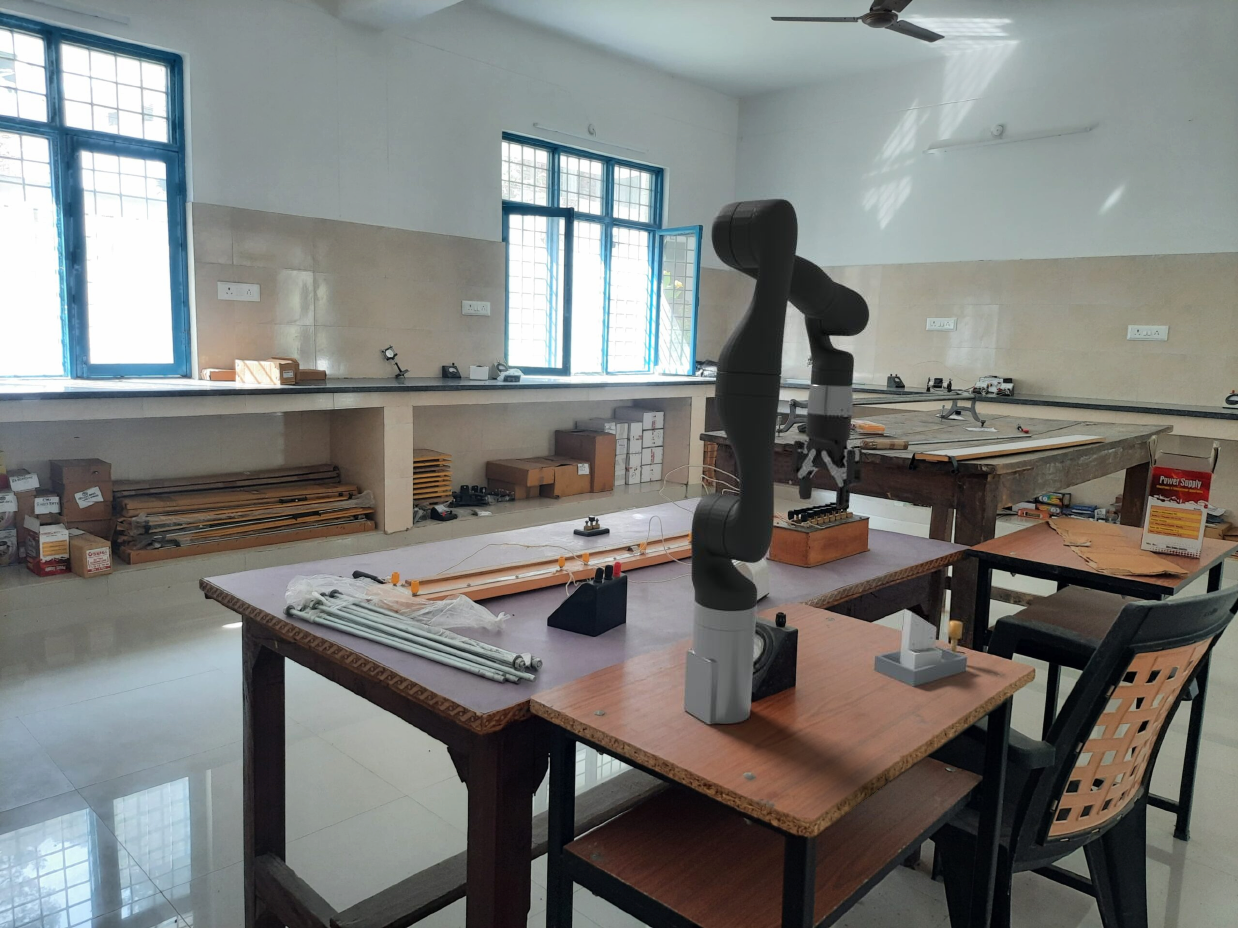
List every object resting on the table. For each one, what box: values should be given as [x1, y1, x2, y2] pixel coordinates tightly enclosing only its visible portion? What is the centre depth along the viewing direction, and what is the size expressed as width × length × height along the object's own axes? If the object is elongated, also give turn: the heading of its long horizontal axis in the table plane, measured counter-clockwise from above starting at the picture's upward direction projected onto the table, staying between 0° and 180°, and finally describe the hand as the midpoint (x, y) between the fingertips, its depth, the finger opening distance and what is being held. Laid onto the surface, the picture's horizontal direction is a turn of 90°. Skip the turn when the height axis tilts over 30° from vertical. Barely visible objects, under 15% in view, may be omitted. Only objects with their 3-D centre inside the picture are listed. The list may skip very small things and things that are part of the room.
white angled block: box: [900, 608, 942, 670], centre depth 150 cm, size 4×10×9 cm, turn 111°
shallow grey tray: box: [873, 620, 968, 687], centre depth 151 cm, size 17×8×7 cm, turn 123°
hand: (823, 503), depth 152 cm, fingers open, 8 cm apart
